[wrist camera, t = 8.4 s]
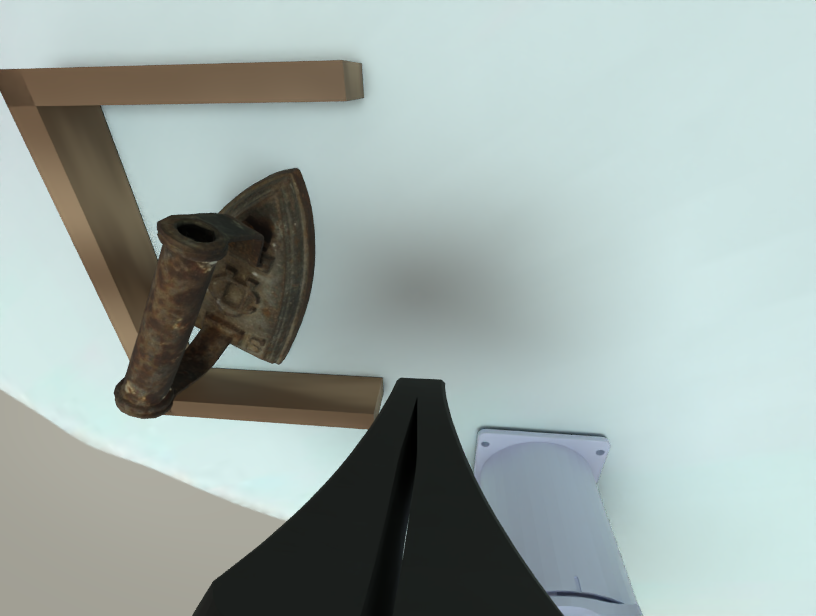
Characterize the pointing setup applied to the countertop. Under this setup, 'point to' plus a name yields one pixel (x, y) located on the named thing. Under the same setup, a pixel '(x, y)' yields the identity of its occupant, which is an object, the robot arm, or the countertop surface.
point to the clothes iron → (223, 290)
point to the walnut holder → (123, 226)
